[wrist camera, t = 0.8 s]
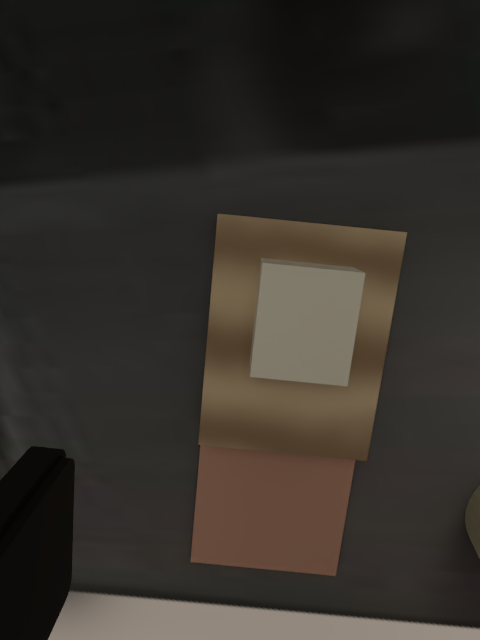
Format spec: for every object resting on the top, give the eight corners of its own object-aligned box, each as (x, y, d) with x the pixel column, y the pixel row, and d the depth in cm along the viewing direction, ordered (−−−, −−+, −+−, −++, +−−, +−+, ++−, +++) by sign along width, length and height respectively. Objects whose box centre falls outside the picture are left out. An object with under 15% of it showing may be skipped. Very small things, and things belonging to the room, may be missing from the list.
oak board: (220, 213, 32) (217, 213, 29) (392, 230, 32) (407, 232, 29) (202, 425, 35) (198, 444, 32) (356, 440, 35) (366, 461, 32)
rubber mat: (201, 431, 35) (201, 434, 35) (355, 446, 35) (357, 449, 35) (191, 558, 38) (190, 562, 37) (334, 572, 38) (335, 575, 38)
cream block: (260, 258, 29) (262, 262, 26) (353, 267, 29) (365, 272, 26) (249, 361, 31) (249, 376, 28) (337, 370, 31) (347, 386, 28)
